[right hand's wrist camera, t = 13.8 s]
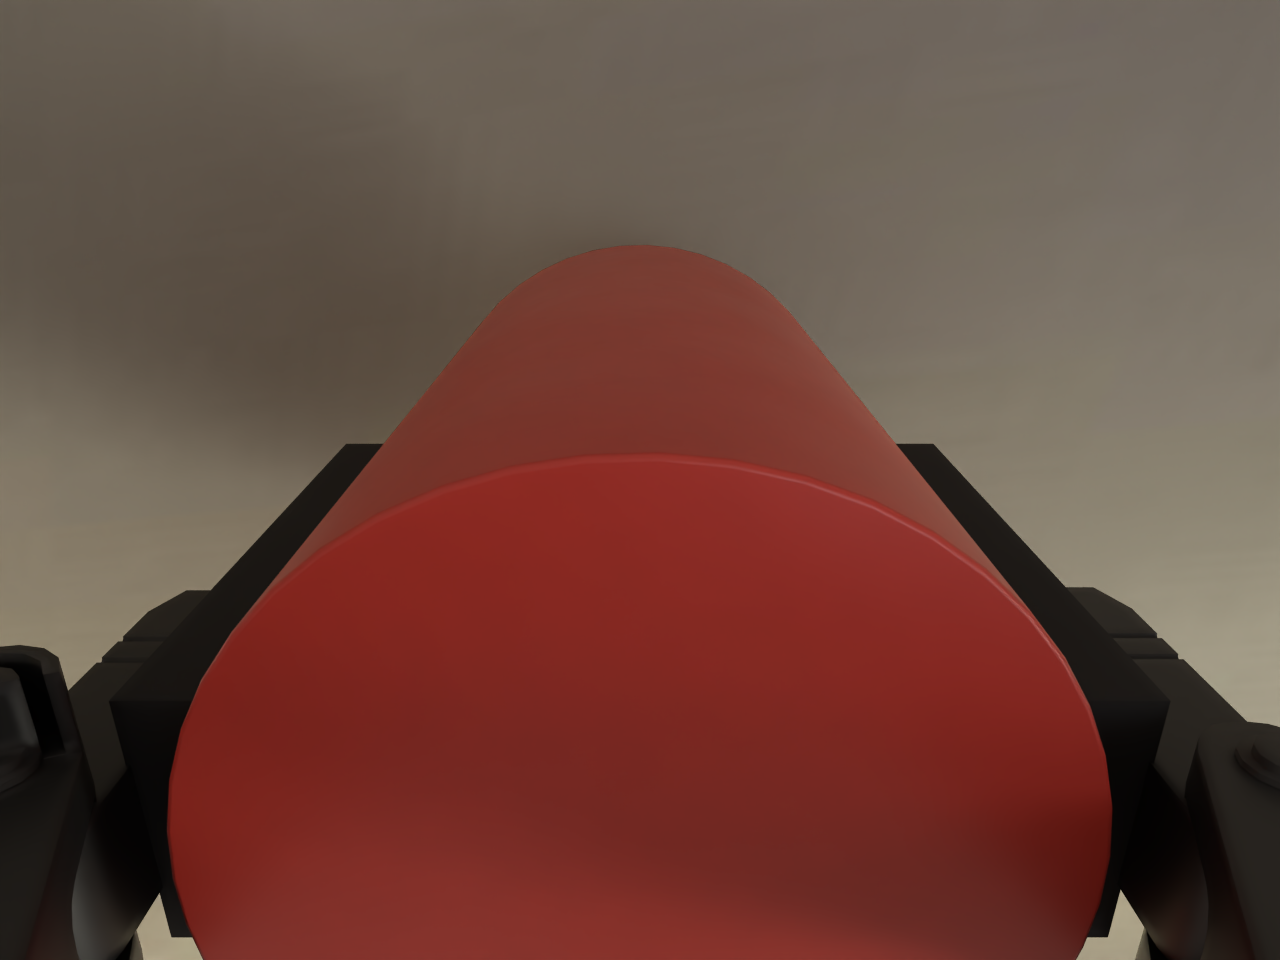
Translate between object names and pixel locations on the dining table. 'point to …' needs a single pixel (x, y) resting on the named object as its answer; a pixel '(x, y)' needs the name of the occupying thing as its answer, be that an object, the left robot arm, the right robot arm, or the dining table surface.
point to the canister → (639, 673)
